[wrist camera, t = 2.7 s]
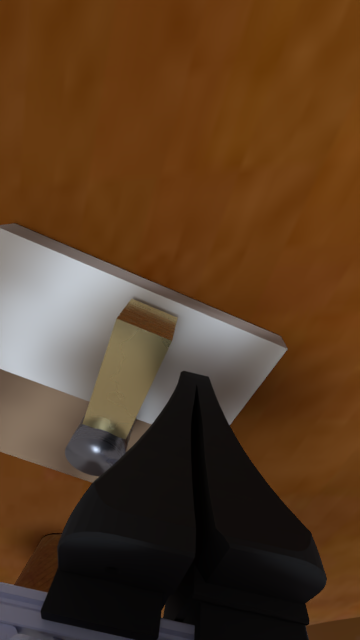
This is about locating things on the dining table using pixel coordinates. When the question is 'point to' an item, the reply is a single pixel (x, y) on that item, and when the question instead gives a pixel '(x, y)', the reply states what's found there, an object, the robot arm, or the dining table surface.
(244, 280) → the dining table surface
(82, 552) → the robot arm
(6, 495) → the dining table surface
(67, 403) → the door edge board
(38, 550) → the disposable coffee cup
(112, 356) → the bar
